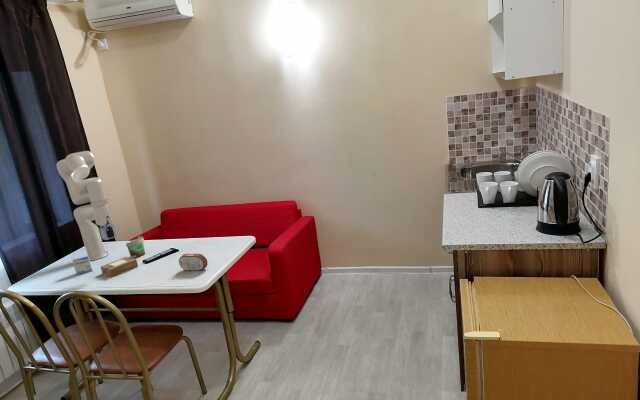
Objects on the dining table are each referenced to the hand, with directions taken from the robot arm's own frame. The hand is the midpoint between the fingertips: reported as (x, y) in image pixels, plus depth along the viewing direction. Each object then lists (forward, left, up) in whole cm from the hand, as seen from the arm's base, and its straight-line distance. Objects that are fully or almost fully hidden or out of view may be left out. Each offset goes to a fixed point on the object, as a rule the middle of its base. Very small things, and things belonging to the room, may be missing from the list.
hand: (108, 236), depth 240 cm
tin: (+45, +17, -20) cm, 52 cm away
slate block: (0, 0, -1) cm, 1 cm away
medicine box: (-21, -9, -20) cm, 30 cm away
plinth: (0, +1, -19) cm, 19 cm away
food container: (-11, +19, -20) cm, 29 cm away
